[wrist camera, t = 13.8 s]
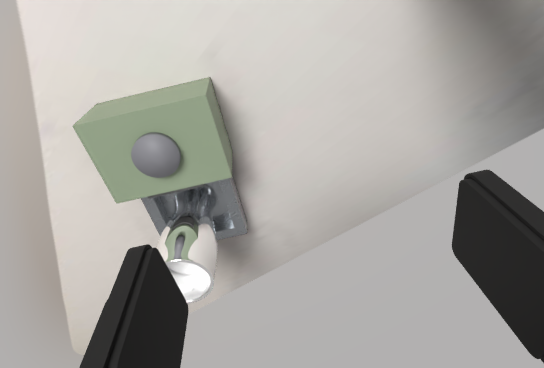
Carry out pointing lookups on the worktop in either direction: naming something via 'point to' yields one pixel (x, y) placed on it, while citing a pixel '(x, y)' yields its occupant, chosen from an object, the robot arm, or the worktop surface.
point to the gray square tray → (225, 218)
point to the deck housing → (158, 141)
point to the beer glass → (191, 242)
